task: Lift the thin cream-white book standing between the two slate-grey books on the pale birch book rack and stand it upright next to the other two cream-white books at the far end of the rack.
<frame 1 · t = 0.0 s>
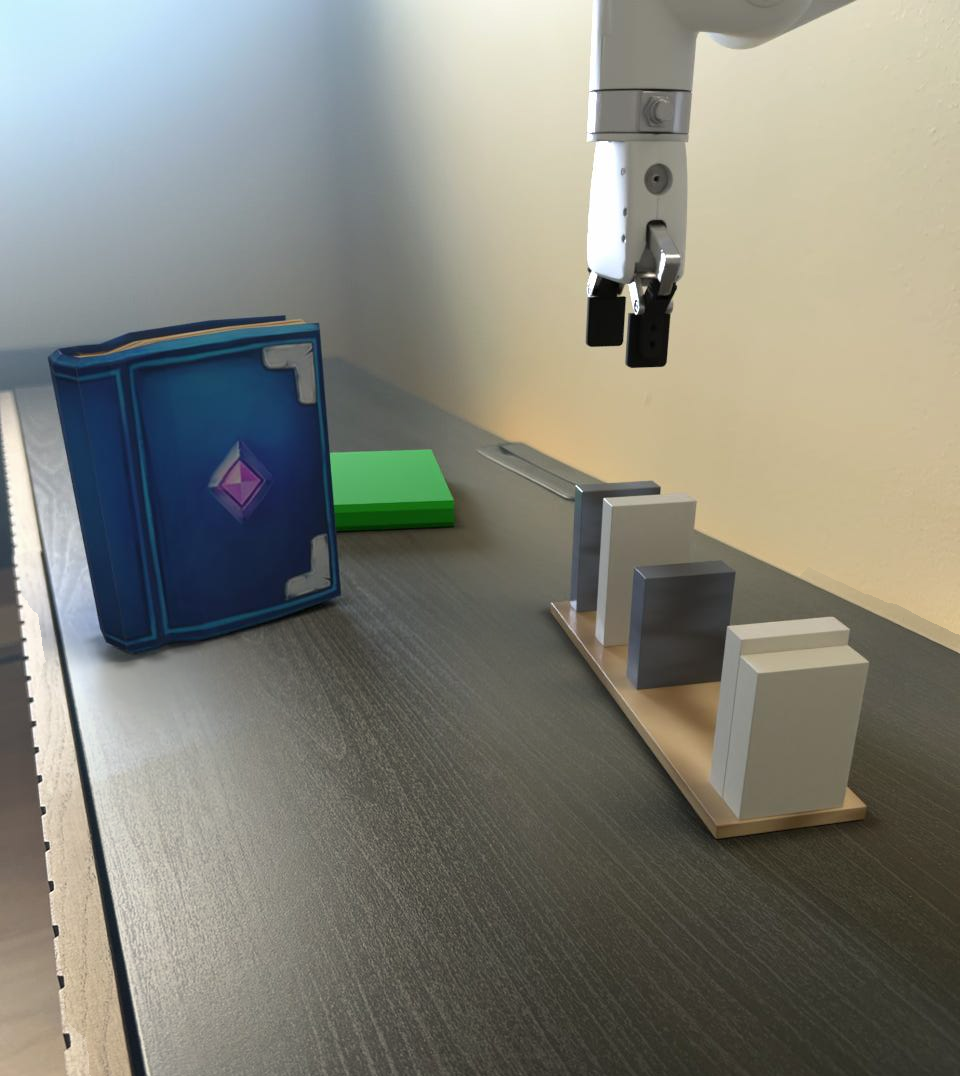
hand: (623, 355, 86), 23 cm above the table, tool pointing down, fingers open, 9 cm apart
book rack: (670, 686, 82), on the table
white books: (770, 805, 67), resting on book rack
chandelier: (218, 413, 167), on the table
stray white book: (639, 638, 88), point 1 cm above the table, touching book rack
book: (220, 623, 93), on the table
book 2: (323, 504, 125), on the table
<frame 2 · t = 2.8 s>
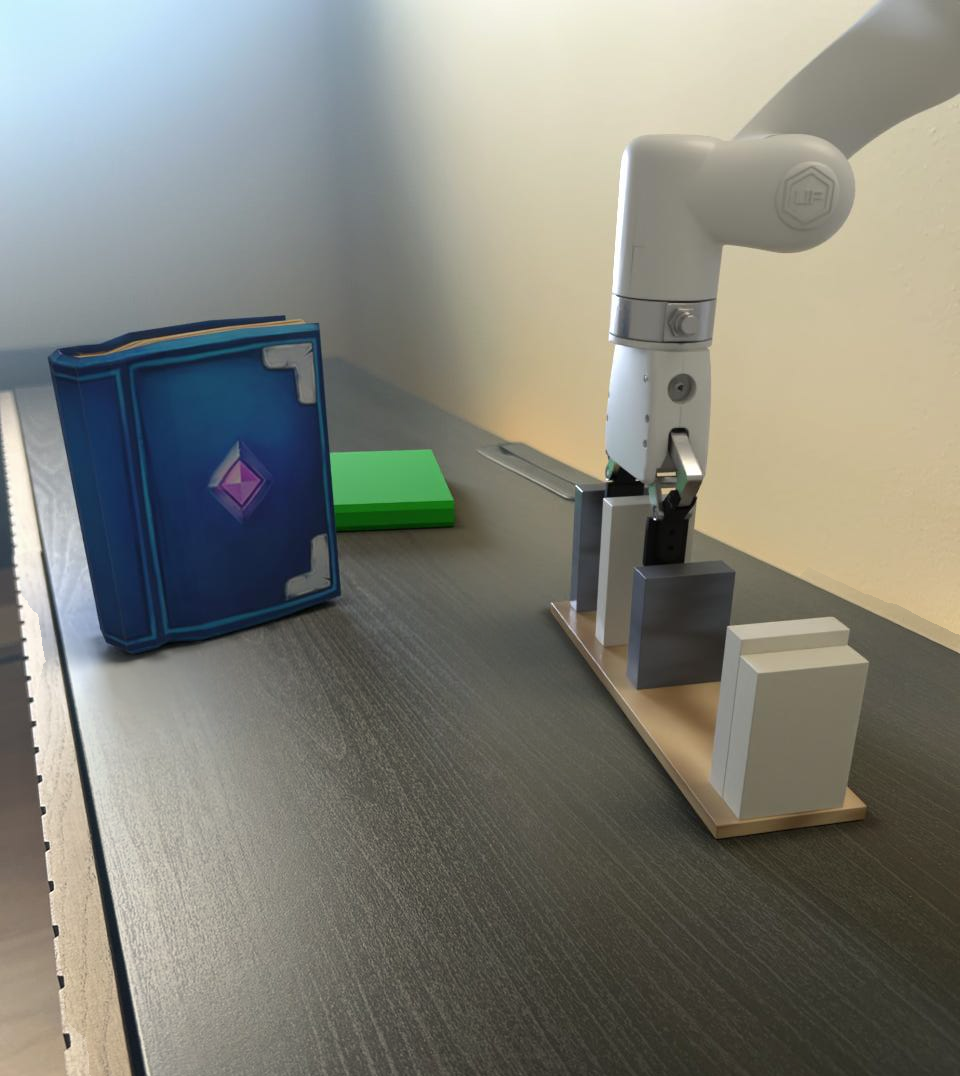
hand: (641, 546, 84), 9 cm above the table, tool pointing down, fingers open, 8 cm apart
nothing on the table moved.
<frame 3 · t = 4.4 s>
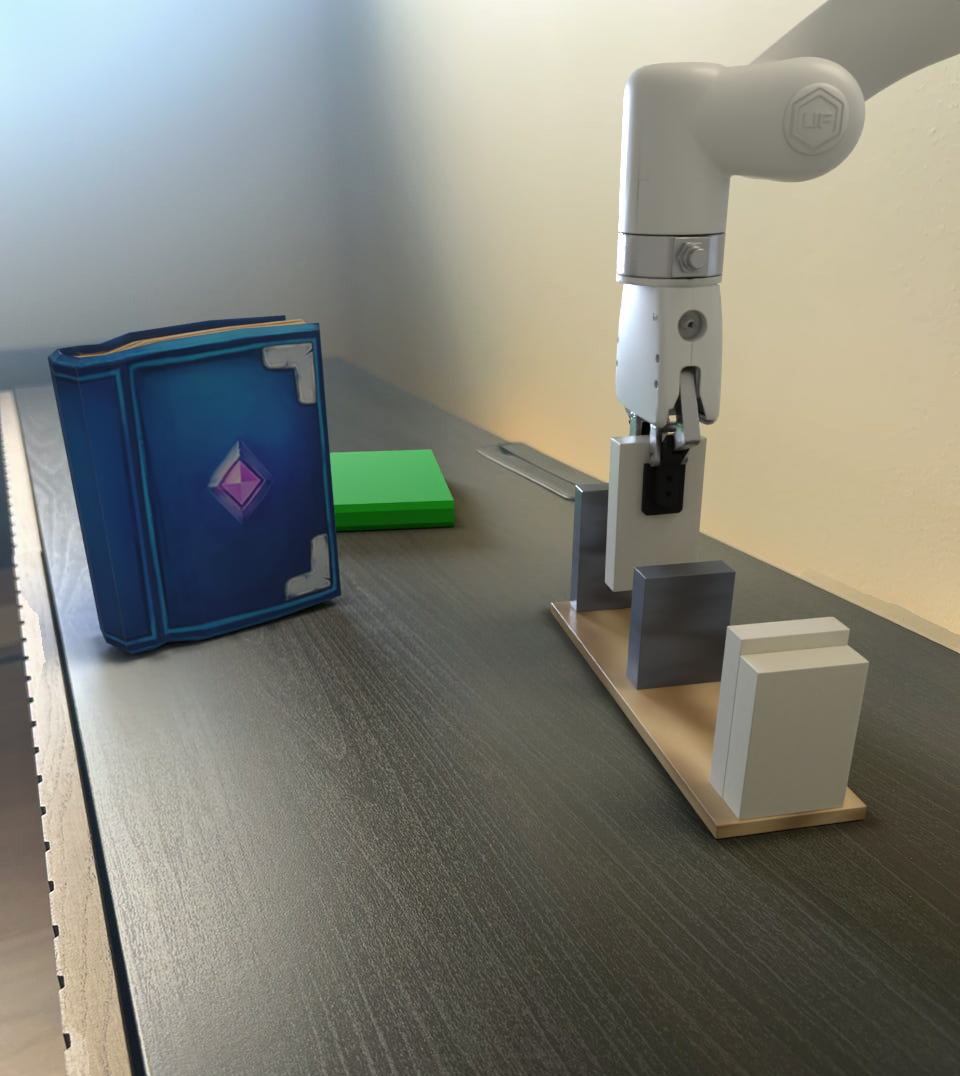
hand: (654, 505, 83), 12 cm above the table, tool pointing down, fingers closed on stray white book
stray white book: (649, 583, 86), point 6 cm above the table, touching gripper
everything else where it was.
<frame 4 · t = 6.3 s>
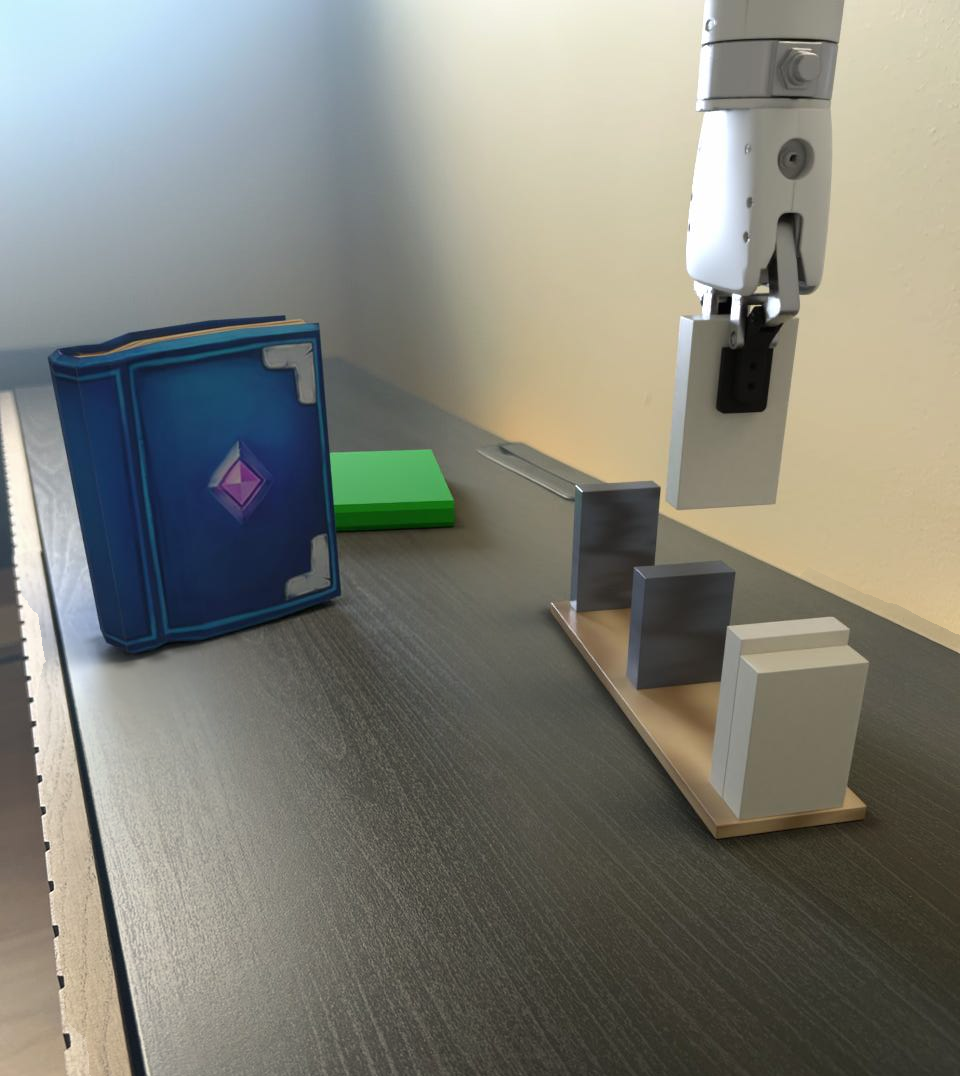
hand: (730, 404, 68), 23 cm above the table, tool pointing down, fingers closed on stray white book
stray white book: (720, 502, 71), point 16 cm above the table, touching gripper
everything else where it was.
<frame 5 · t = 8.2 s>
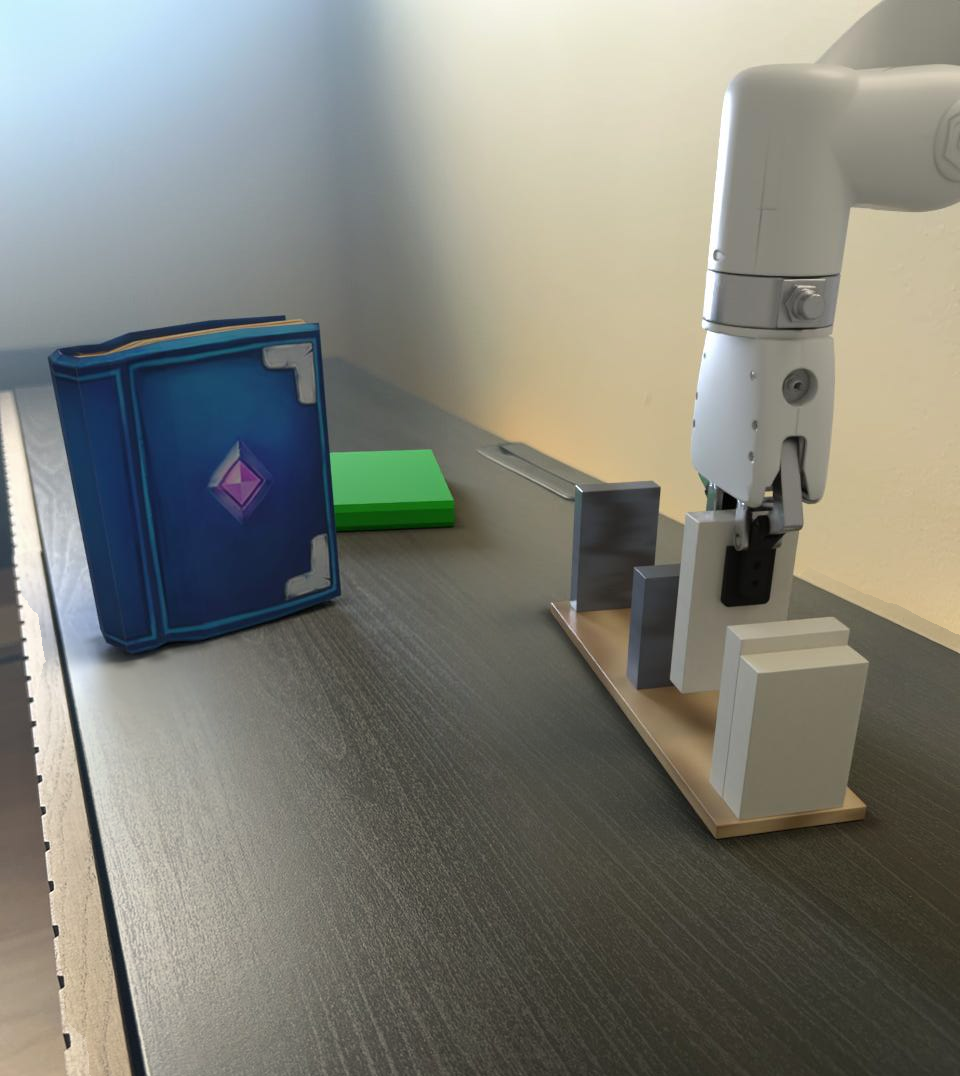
hand: (734, 593, 70), 11 cm above the table, tool pointing down, fingers closed on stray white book
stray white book: (723, 682, 72), point 5 cm above the table, touching gripper
everything else where it was.
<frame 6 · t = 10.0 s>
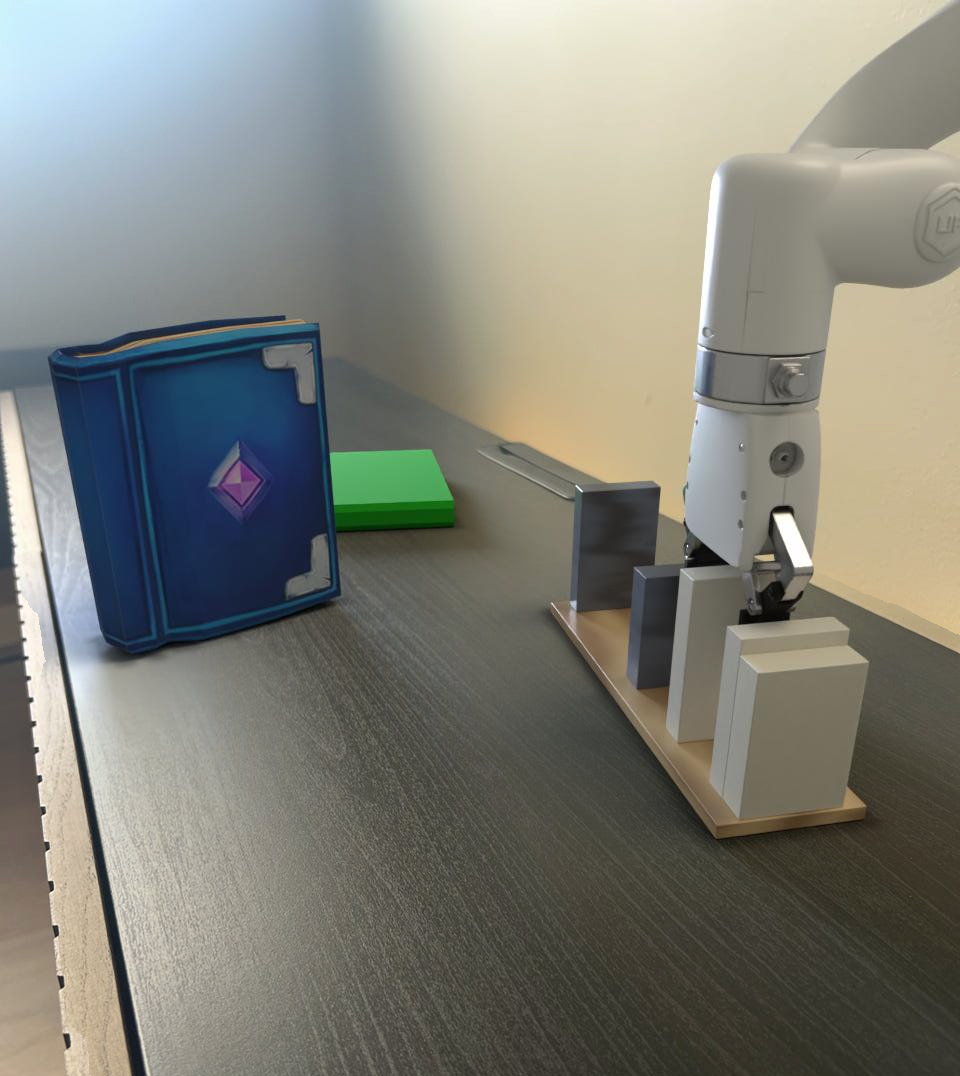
hand: (729, 636, 71), 8 cm above the table, tool pointing down, fingers open, 8 cm apart
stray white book: (718, 730, 74), point 1 cm above the table, touching book rack
everything else where it was.
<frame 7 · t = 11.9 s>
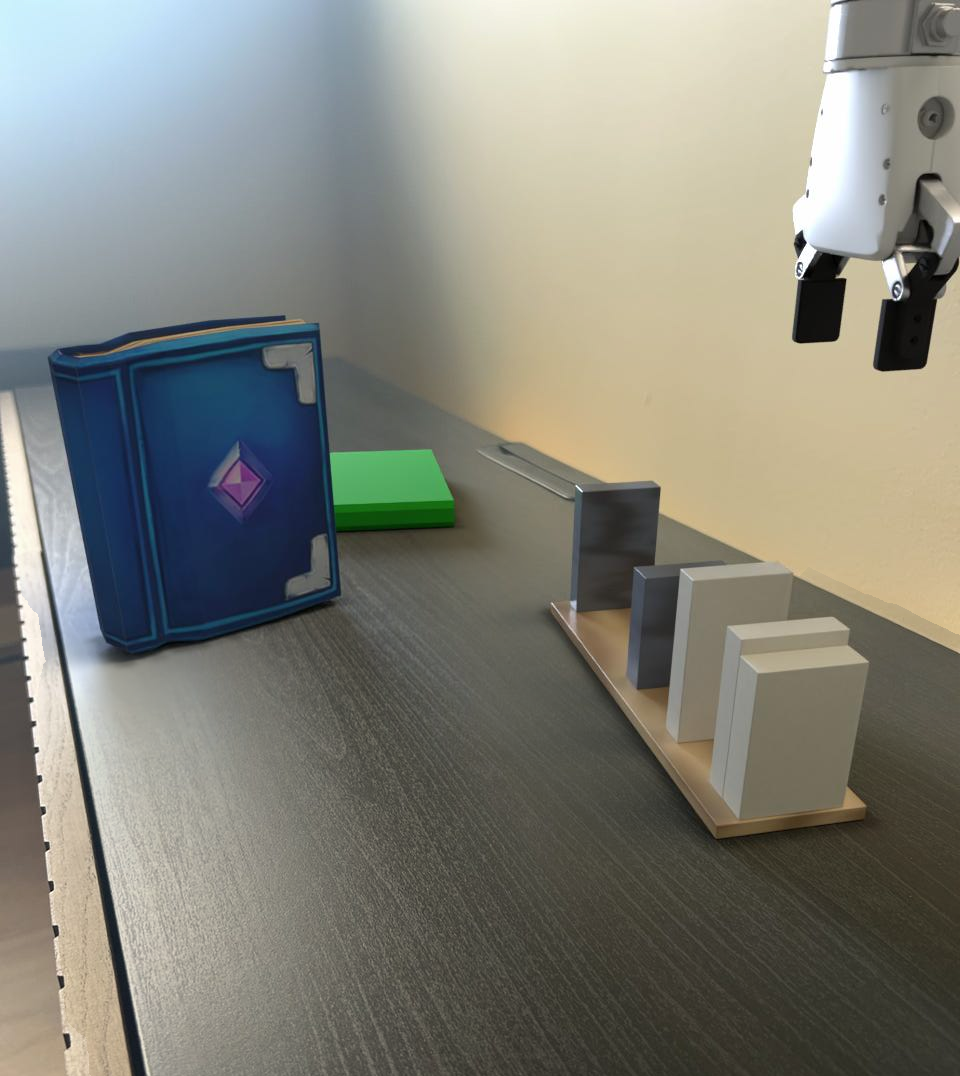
hand: (854, 354, 66), 26 cm above the table, tool pointing down, fingers open, 9 cm apart
nothing on the table moved.
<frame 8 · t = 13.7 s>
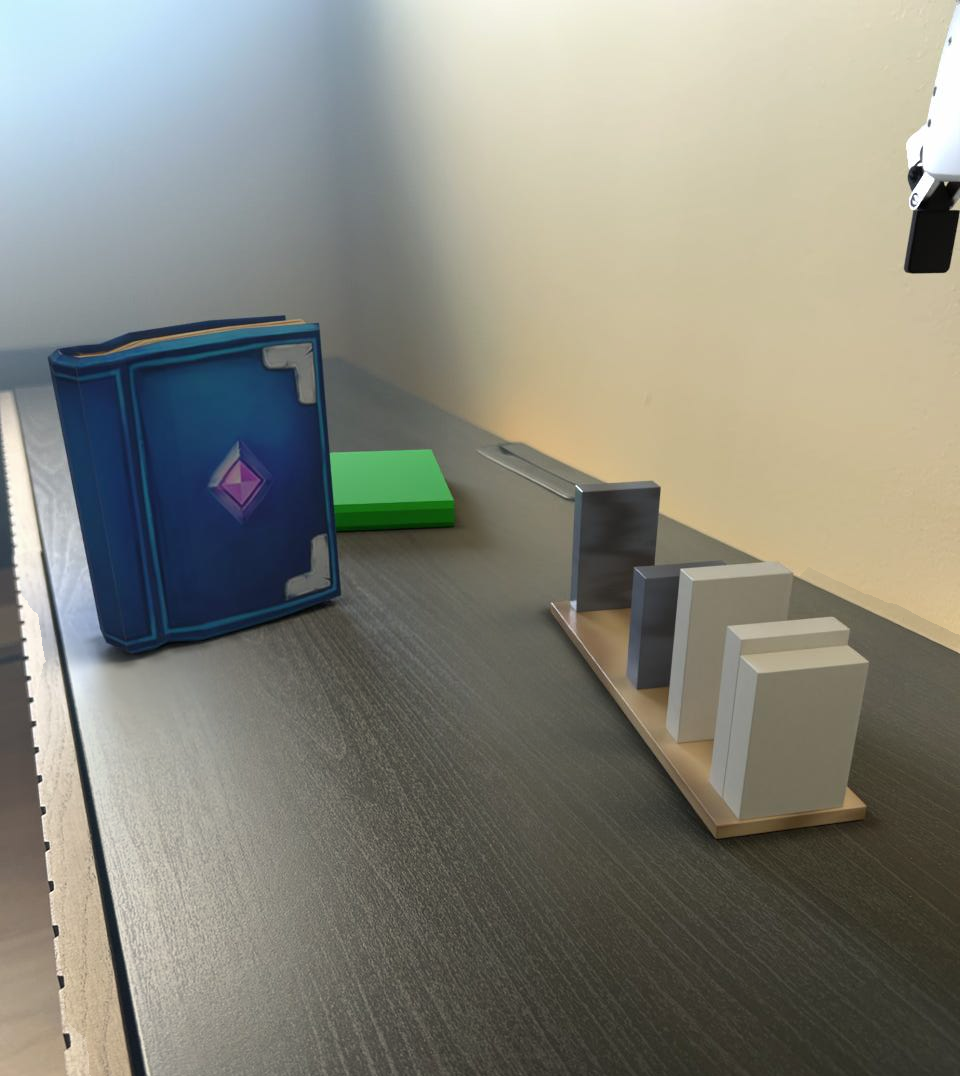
nothing on the table moved.
at the end: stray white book 0.1 cm from the target spot on the table beside the white books, point 1.0 cm above the table; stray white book tilted 0°; the gripper is holding nothing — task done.
